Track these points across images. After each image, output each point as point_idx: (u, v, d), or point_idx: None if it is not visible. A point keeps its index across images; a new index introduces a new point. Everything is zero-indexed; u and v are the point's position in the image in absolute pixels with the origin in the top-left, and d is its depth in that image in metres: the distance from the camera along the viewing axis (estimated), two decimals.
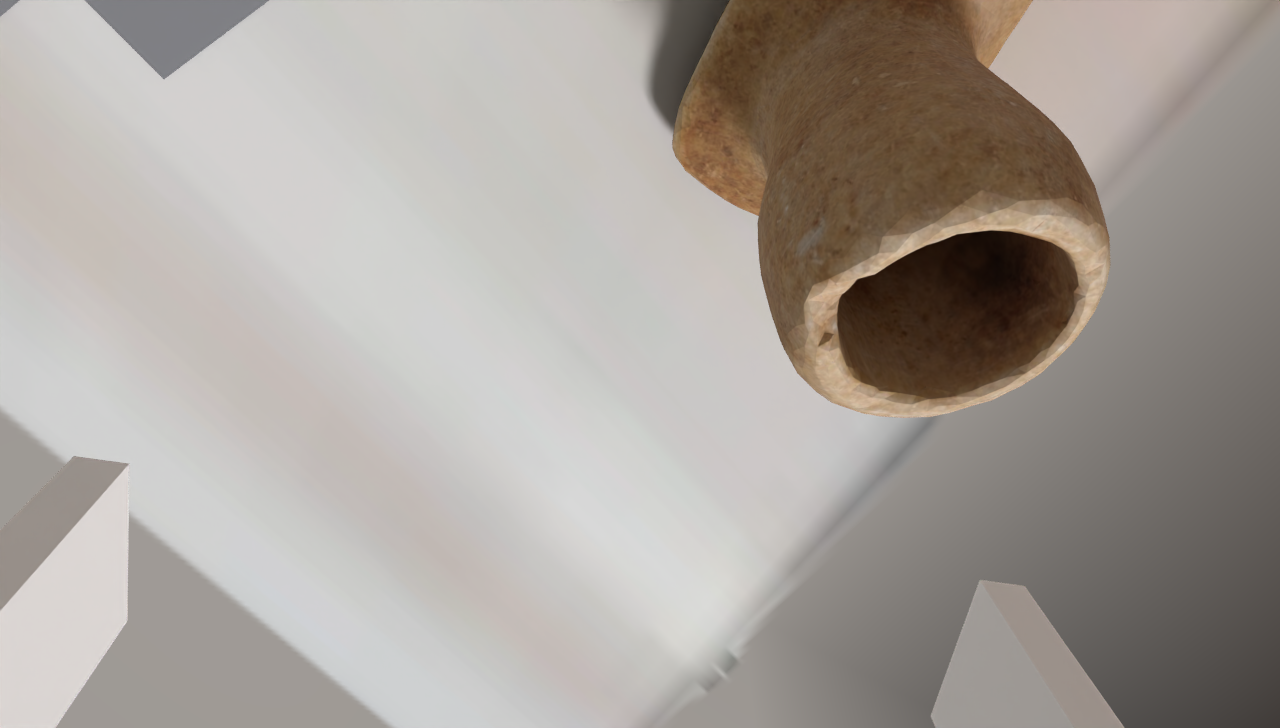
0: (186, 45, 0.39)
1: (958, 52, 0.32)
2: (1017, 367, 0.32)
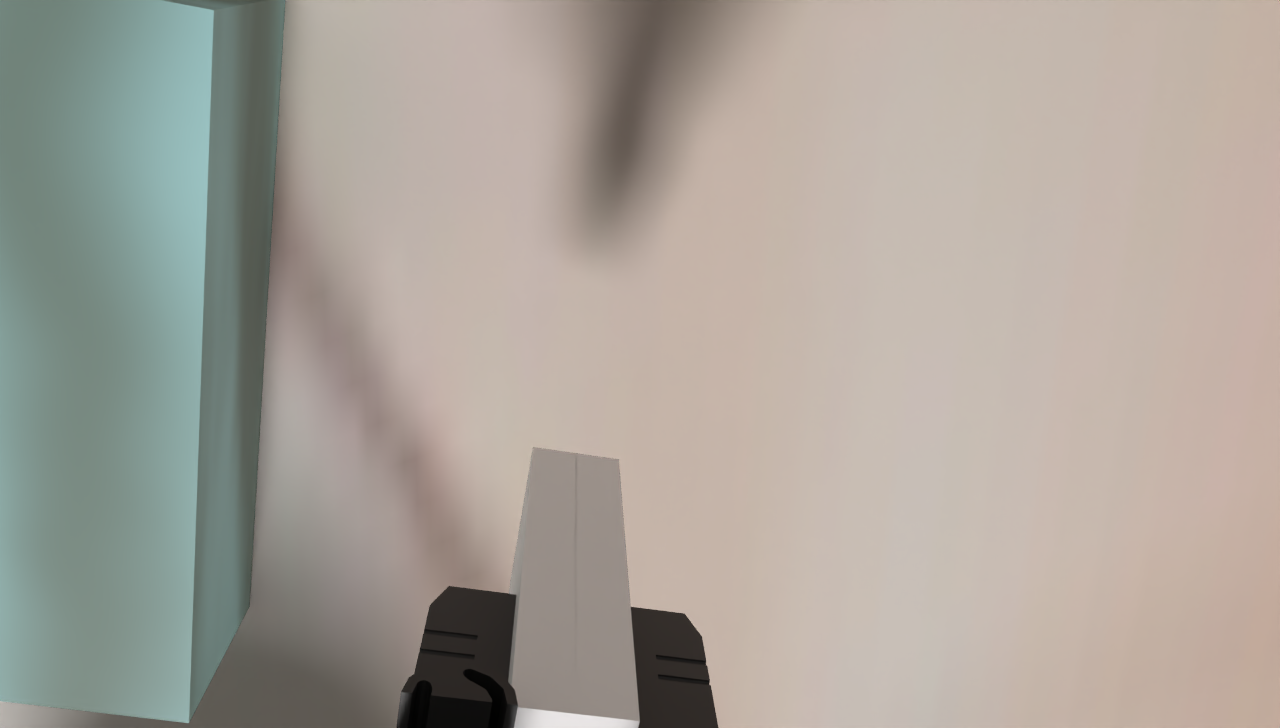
0: None
1: None
2: None
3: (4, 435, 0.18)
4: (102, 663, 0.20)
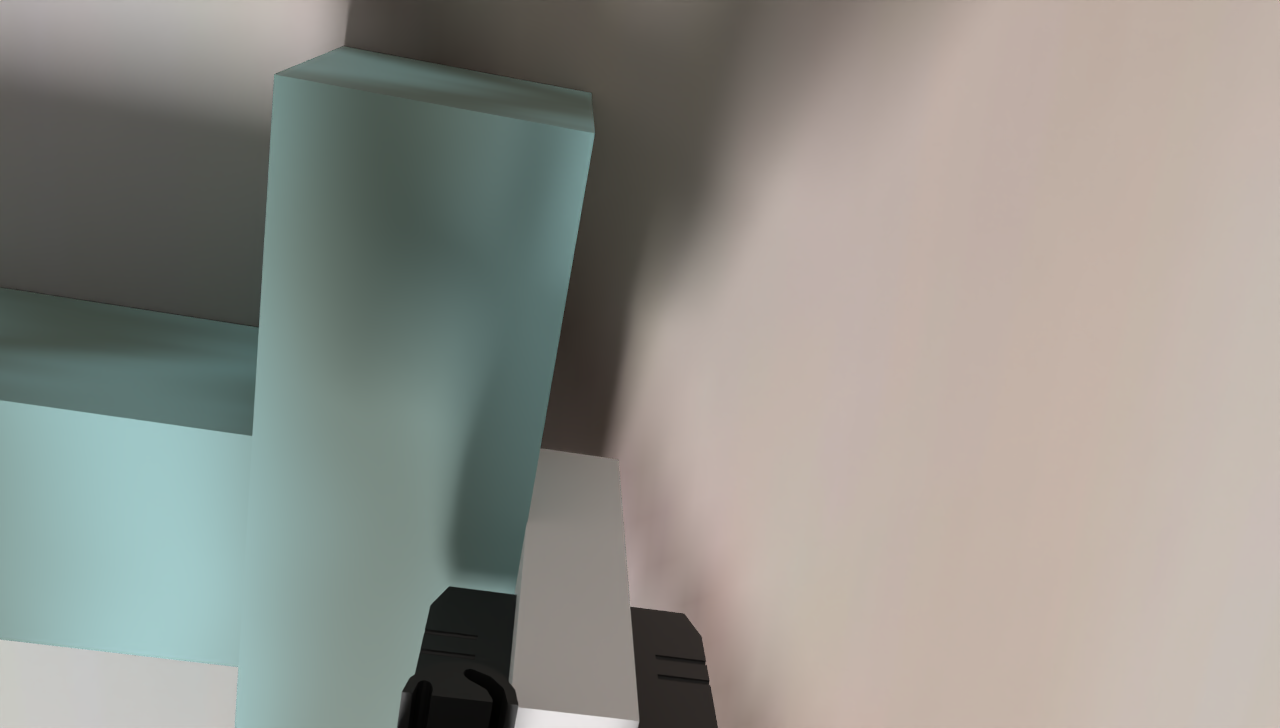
0: None
1: None
2: None
3: (285, 616, 0.16)
4: None
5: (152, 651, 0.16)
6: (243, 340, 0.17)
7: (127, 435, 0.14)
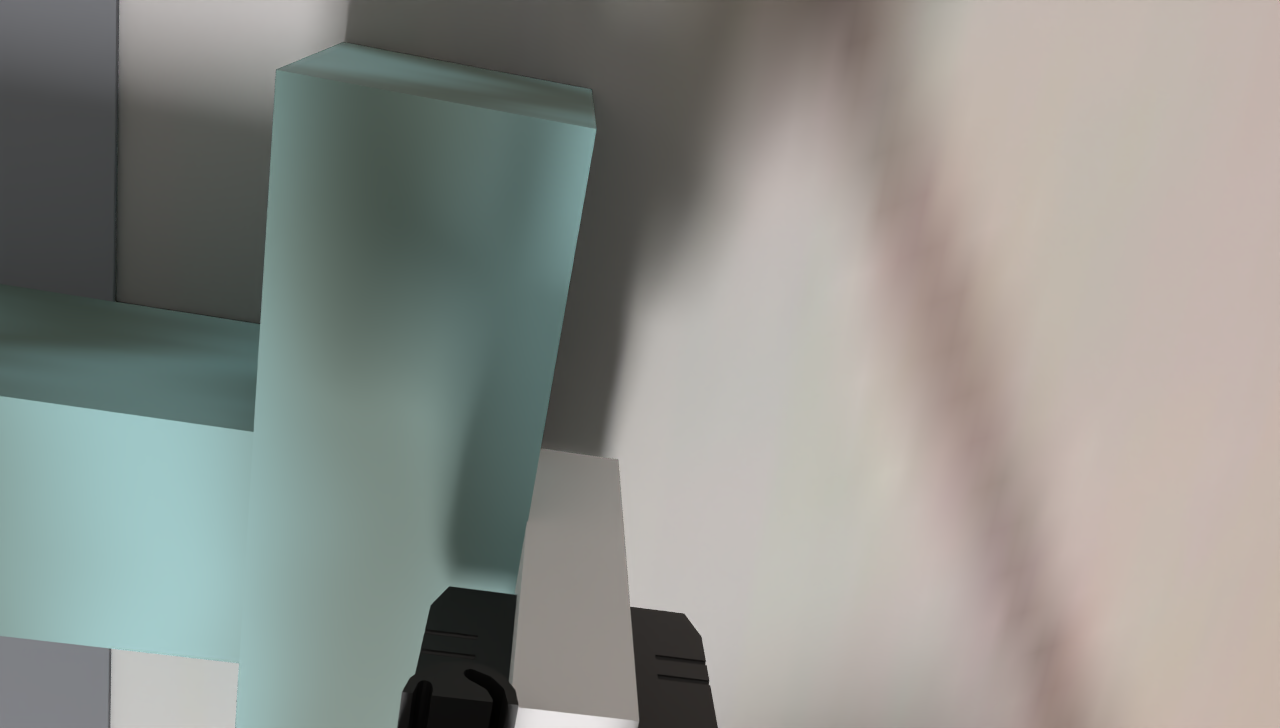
0: None
1: None
2: None
3: (286, 612, 0.16)
4: None
5: (152, 647, 0.16)
6: (243, 336, 0.17)
7: (128, 431, 0.14)
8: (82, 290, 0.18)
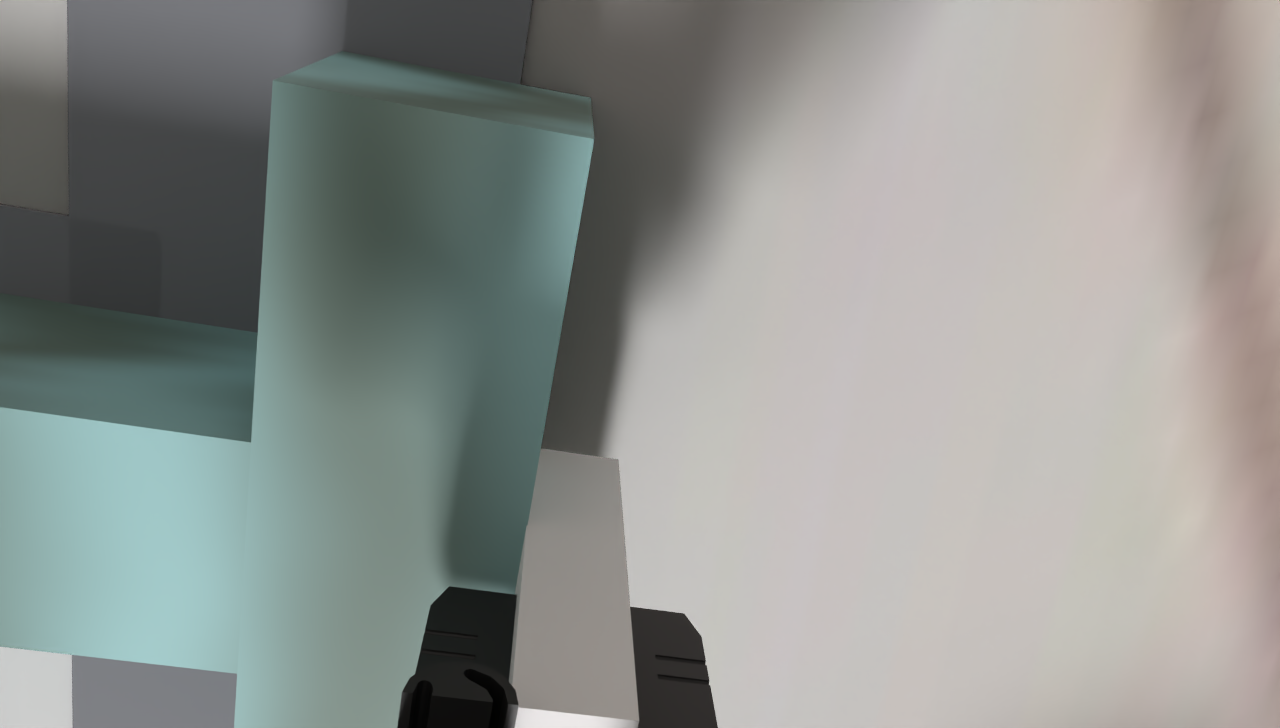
0: None
1: None
2: None
3: (284, 622, 0.16)
4: None
5: (150, 658, 0.16)
6: (242, 345, 0.17)
7: (125, 442, 0.14)
8: None
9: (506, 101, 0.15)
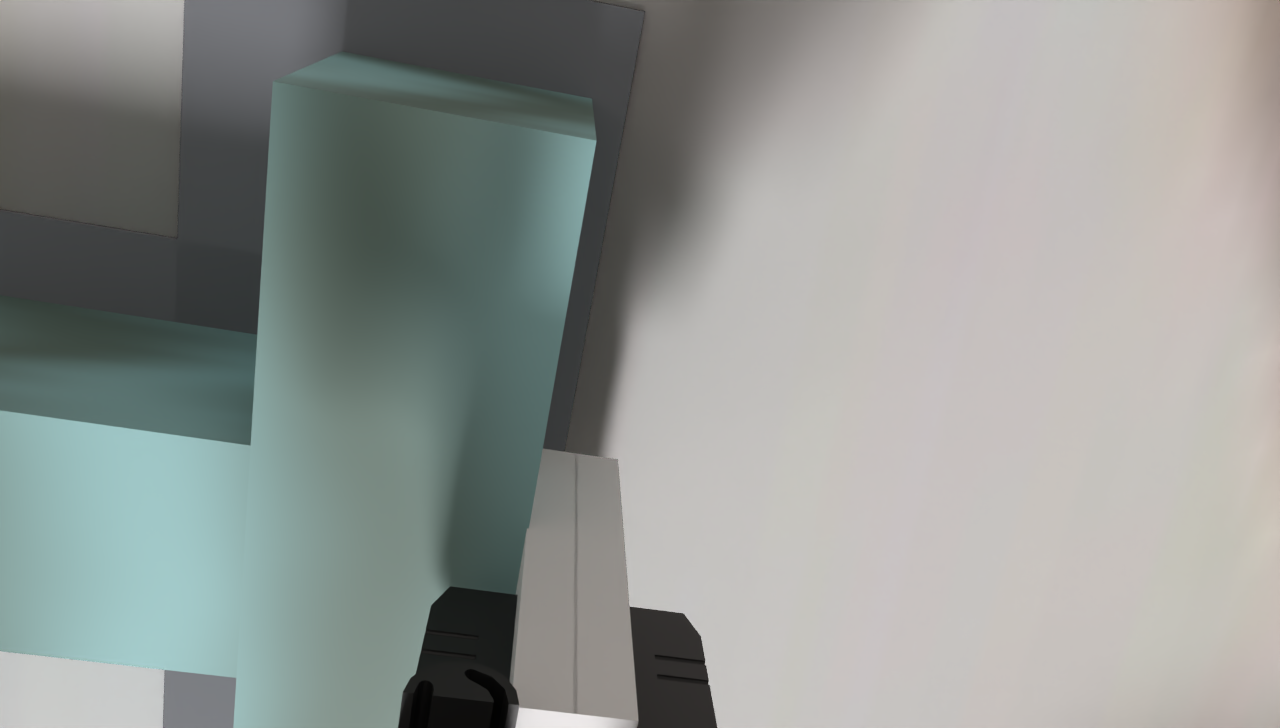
0: None
1: None
2: None
3: (283, 626, 0.15)
4: None
5: (148, 662, 0.16)
6: (241, 347, 0.17)
7: (124, 445, 0.14)
8: None
9: (507, 102, 0.15)
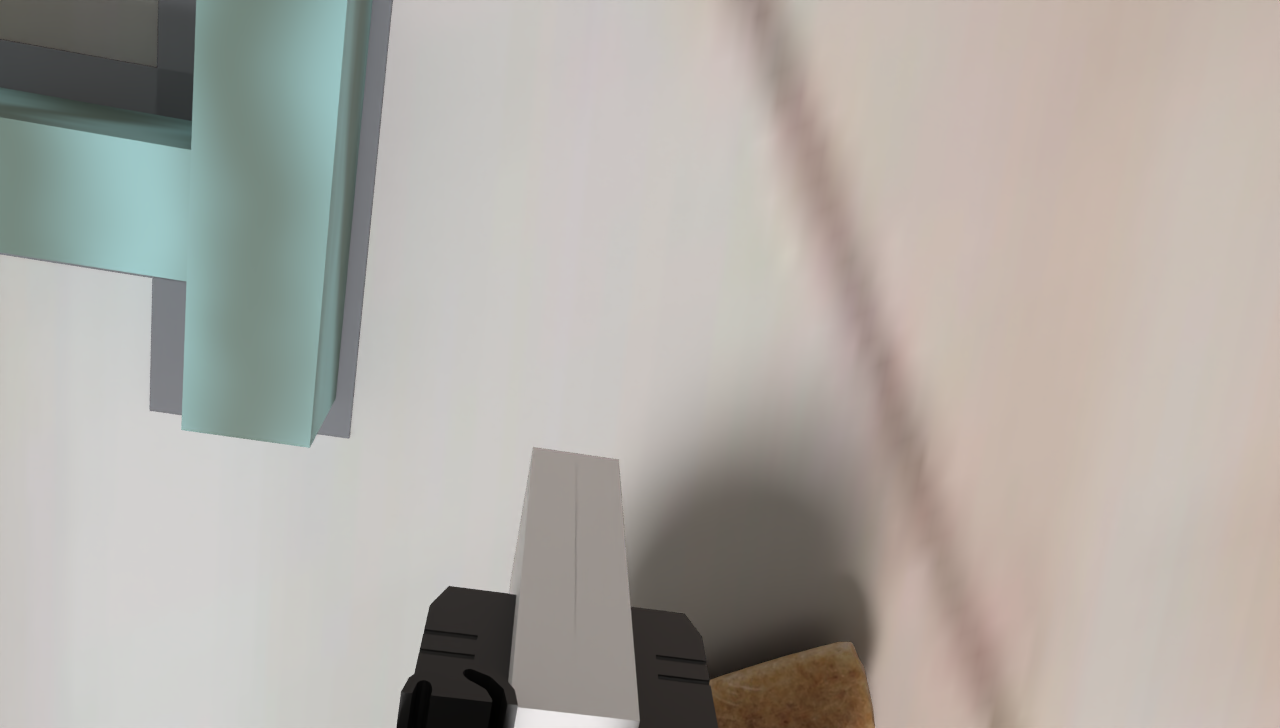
0: None
1: None
2: None
3: (209, 251, 0.31)
4: (258, 405, 0.33)
5: (142, 271, 0.31)
6: (191, 125, 0.33)
7: (130, 148, 0.30)
8: (360, 147, 0.34)
9: None
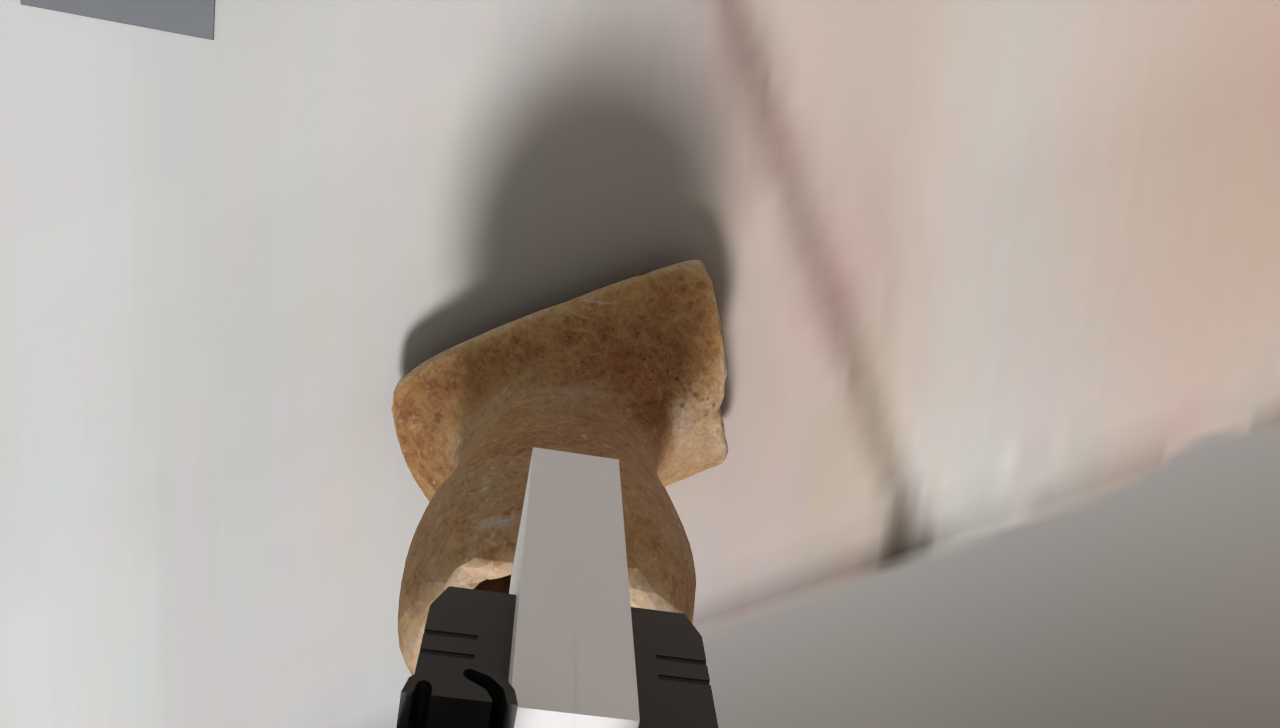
0: (70, 0, 0.39)
1: (653, 467, 0.40)
2: None
3: None
4: None
5: None
6: None
7: None
8: None
9: None
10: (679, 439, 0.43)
